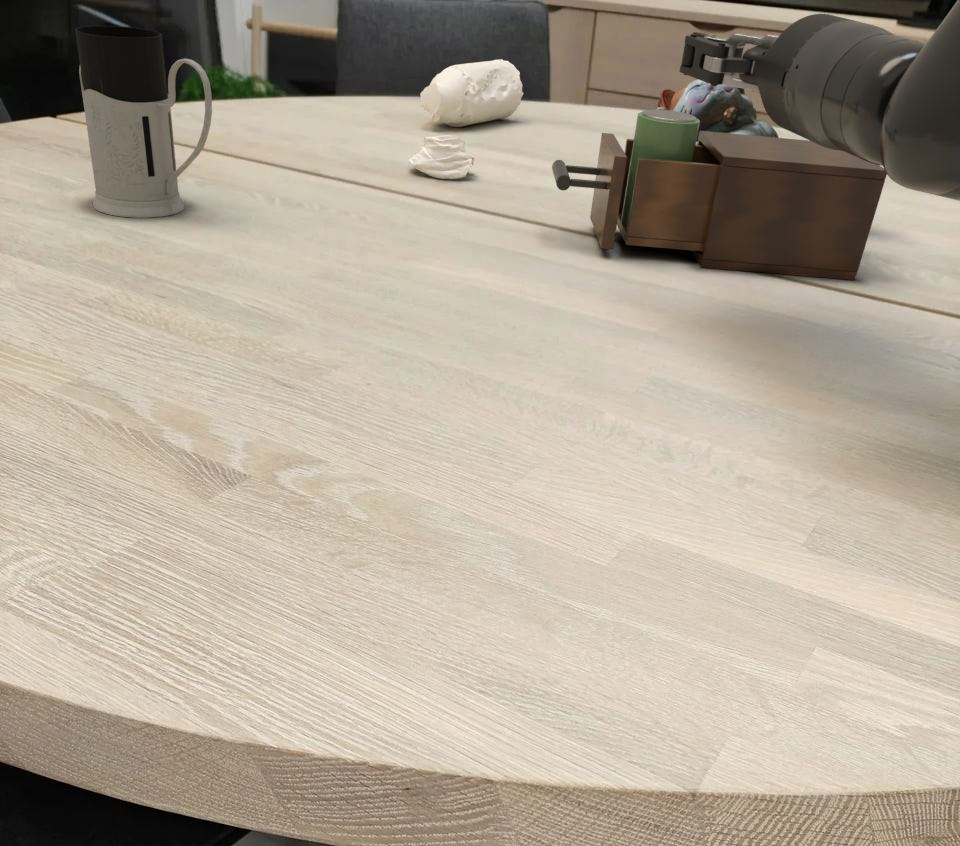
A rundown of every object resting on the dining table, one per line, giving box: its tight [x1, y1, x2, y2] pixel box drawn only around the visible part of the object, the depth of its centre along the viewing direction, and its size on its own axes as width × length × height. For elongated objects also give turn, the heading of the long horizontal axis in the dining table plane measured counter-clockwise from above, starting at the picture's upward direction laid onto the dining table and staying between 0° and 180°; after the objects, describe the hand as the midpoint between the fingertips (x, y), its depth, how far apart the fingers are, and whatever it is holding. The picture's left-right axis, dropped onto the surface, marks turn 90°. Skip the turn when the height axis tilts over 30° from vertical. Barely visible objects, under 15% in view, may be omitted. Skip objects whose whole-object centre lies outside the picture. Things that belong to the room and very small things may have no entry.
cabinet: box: [690, 131, 888, 281], centre depth 100 cm, size 16×13×10 cm
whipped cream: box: [407, 135, 475, 180], centre depth 120 cm, size 8×7×5 cm
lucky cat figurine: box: [654, 79, 780, 145], centre depth 128 cm, size 15×12×14 cm
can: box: [621, 109, 700, 227], centre depth 99 cm, size 6×6×10 cm
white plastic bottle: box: [419, 58, 525, 128], centre depth 146 cm, size 8×19×8 cm, turn 146°
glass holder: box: [74, 25, 213, 219], centre depth 94 cm, size 9×14×15 cm, turn 64°
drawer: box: [551, 132, 721, 251], centre depth 100 cm, size 19×11×8 cm, turn 90°
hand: (741, 50), depth 81 cm, fingers open, 8 cm apart
